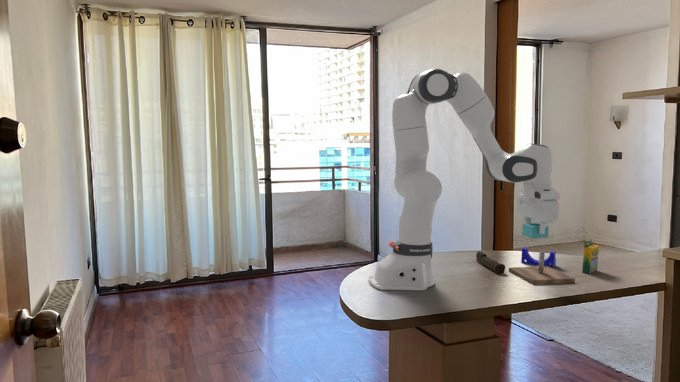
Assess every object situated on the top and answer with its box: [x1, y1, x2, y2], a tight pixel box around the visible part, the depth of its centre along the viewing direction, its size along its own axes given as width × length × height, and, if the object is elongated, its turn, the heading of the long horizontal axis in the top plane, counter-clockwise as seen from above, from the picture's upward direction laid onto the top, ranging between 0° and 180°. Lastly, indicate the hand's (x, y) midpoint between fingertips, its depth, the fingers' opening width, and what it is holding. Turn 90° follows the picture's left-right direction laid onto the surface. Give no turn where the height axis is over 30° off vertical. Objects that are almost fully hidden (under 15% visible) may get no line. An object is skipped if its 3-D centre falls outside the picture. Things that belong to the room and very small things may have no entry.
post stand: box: [508, 250, 576, 286], centre depth 176 cm, size 16×16×10 cm
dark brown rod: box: [475, 251, 506, 275], centre depth 189 cm, size 19×4×5 cm, turn 8°
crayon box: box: [581, 239, 600, 275], centre depth 184 cm, size 7×3×12 cm, turn 132°
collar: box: [521, 222, 550, 239], centre depth 168 cm, size 6×6×4 cm
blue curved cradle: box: [520, 247, 557, 269], centre depth 194 cm, size 12×4×6 cm, turn 56°
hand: (535, 231), depth 168 cm, fingers closed on collar, 6 cm apart
